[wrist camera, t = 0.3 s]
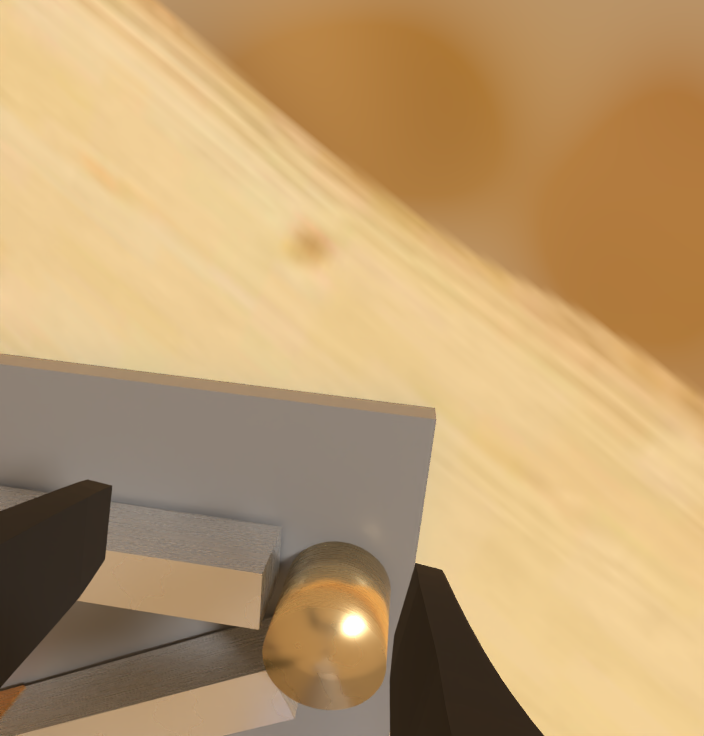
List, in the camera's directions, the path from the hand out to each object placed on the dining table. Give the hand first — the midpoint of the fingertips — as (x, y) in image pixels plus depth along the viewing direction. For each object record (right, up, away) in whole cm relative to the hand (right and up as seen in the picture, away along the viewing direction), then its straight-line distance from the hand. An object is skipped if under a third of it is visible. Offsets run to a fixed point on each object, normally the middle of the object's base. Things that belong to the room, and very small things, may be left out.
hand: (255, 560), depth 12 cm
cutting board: (-7, -5, +13) cm, 16 cm away
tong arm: (-8, -10, +13) cm, 18 cm away
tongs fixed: (-7, -3, +11) cm, 13 cm away
